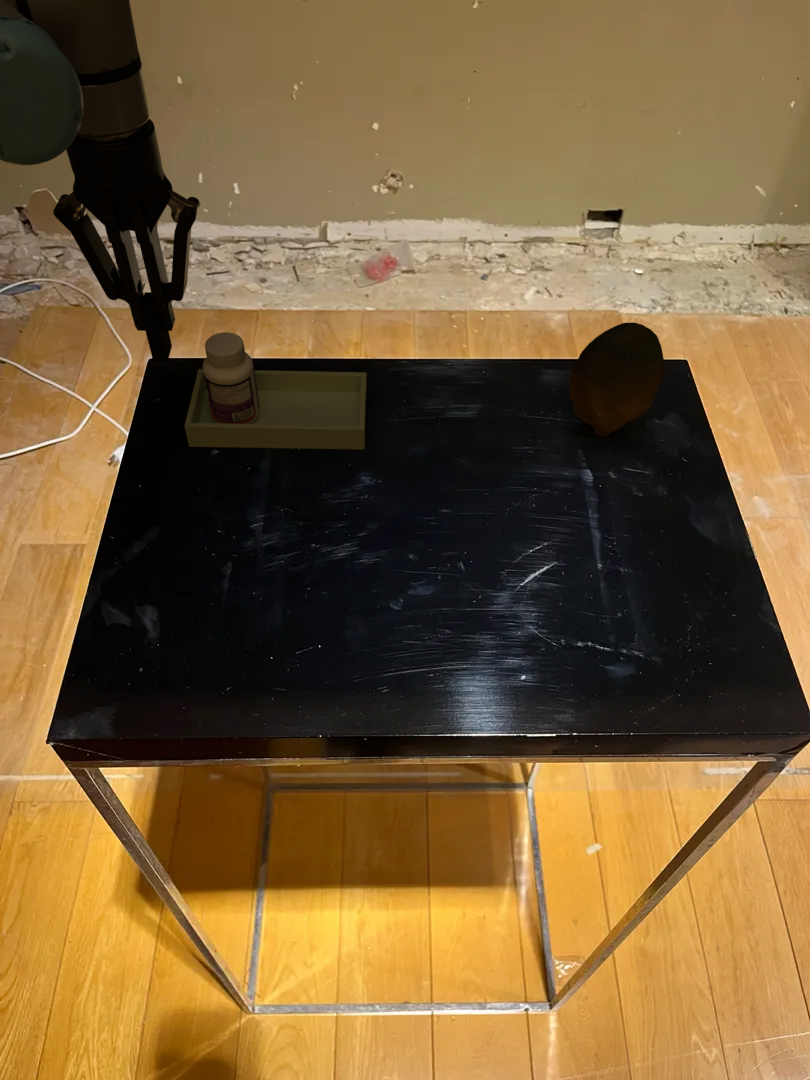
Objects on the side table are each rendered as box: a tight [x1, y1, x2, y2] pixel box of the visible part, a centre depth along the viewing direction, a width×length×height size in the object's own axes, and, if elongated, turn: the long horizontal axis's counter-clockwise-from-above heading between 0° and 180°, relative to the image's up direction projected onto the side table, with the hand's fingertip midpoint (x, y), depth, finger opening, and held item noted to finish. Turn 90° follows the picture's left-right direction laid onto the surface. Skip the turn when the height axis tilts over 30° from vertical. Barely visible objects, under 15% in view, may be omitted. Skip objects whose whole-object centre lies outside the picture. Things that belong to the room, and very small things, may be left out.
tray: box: [184, 368, 368, 451], centre depth 93 cm, size 19×10×3 cm, turn 90°
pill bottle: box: [202, 331, 260, 424], centre depth 89 cm, size 5×5×10 cm
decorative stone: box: [568, 322, 666, 437], centre depth 88 cm, size 10×6×15 cm, turn 90°
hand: (162, 353), depth 87 cm, fingers closed
